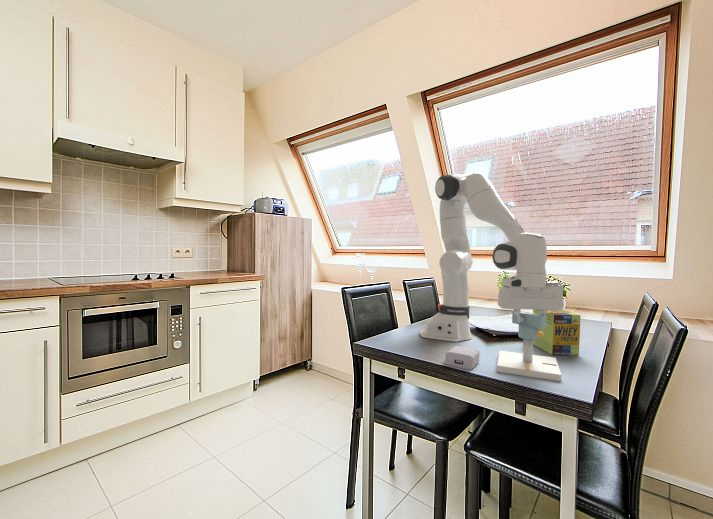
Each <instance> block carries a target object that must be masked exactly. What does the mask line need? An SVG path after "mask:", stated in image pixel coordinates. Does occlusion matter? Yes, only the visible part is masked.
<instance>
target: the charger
mask: <svg viewBox="0 0 713 519" xmlns="http://www.w3.org/2000/svg"><path fill="white" fill-rule="evenodd" d="M444 362H445V364H446V365H447V366H451V367H456V368H461V369H467V370H473V369H474V367H475V366H477V364H478V363H479V362H480V350H479V349H477V348H472V347H465V346H460V345H455V346H453V347H451V349H449V350H447V352H445V360H444Z"/></svg>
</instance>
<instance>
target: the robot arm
mask: <svg viewBox="0 0 713 519" xmlns="http://www.w3.org/2000/svg"><path fill="white" fill-rule="evenodd" d="M434 186H435V187H434V191H435V194H436V196H437V197H438V199H440V201H439V202H440V203H439V224H440V236H441V240H442V241H443V246H444V248H445V252H444V253H442V255H441V257H440V258H439V268H440V271H441V272H440V273H441V280H442V288H443V290H442V292H443V293H442V296H443V297H442V303H439V304H437V308H438V309H437V310H438V312H437V313H436V314H434V315H433V316H431V317H430V318H428V320H427V321H426V322H425V325H424V326H425V327H424V328H422V330H420V332H419V333H420V334H419V336H420V337H422V338H424V339H430V340H431V339H432V340H438V341H439V340H440V341H445V342H446V341H448V342H454V343H457V342H461V341H468V340H472V334H471V329H470V317H471V315H470V314H471V313H470V312H471V311H470V310H471V308H470V305H469V301H470V287H469V281H468V273H467V272H468V271H469V270H471V268H472V266H473V257H472V251H471V247H470V243H469V238H468V233H467V232H468V231H467V221H466V220H467V219H466V212H465V205H466V204H468V206H469V209H470V211H471V213H472V214H473V216H474V217H475V218H476V219H478V220H480V221H482V222H486V223H488V224H491V225H493V226H495V227H498V228H499V230H501V231H502V232H503V233H504V235H505V236H506V238H507V240H508V241H507V242H504V243H500V244H497V245H496V246H495V247H494V249H493V251H492V255H491V256H492V257H491V258H492V261H493V264H494V266H495V267H496V268H498V269H499V270H504V271H516V274H515V275H513V276H510V277H505V278H503V279H501V280H500V281H501V285H502V286H501V287H500V288H499V291H498V296H497V305H498V307H499V308H501V309H503V310H513V311H514V313H515V314H516V316H517V322H518V323H523V322H524V321H523V320H524V318H523V317H521V316H520V314H519V312H520V311H521V310H532V311H533V310H540V312H541V314H540V315H546V313H547V310H564V309H563V308H565V306H564V305H565V304H564V295H563V294H564V286H563V285H562V283H560V282H559V281H547V270H546V262H547V256H548V252H547V242H546V241H547V240H546V238H545V237H544V235H542V234H540V233H539V234H538V233H534V232H533V233H531V232H525V230H524V229H523V228H522V225H521V224H520V222H519V221H518V220H517V218H516V216H515V215H514V214H513V213H512V212H511V211H510V209H509V208H507V206H506V205H505V203H504V202H503V201H502V199H501V198H500V196H499V194H498V193H497V191H496V189H495V187H494V185H493V184H492V183H491V181H490V179H489V178H488V177H487V176H486V174H484V173H482V172H473V173H457V174H455V173H454V174H446V175H442V176H440V177H438V179H437V180H436V182H435V185H434Z"/></svg>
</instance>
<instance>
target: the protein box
mask: <svg viewBox="0 0 713 519" xmlns="http://www.w3.org/2000/svg"><path fill="white" fill-rule="evenodd" d="M532 313H534V314H541V312H540V310H533V309H532ZM539 331H541V332H544V336H538V339H533V346H535V347H536V348H539V349H541V350H543V351H544V352H546V353H548V354H549V355H552V356H580V337H581V336H580V335H581V314H579V313H575V312H572V311H568V310H565V309H562V310H547V313H546V328H543V329H539Z"/></svg>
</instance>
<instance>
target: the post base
mask: <svg viewBox="0 0 713 519" xmlns="http://www.w3.org/2000/svg"><path fill="white" fill-rule="evenodd" d="M496 372H497V373H498V372H499V373H503V374H509V375H510V374H511V375H518V376H524V377H531V378H537V379H542V380H543V379H544V380H550V381H556V382H557V381H558V382H562V373H561V369H560V367H559V364H558V362H557V358H556V357H553V356H545V355H538V354H534V345H533V339H524V338H522V352H513V351H505V350H499V353H498V360H497V365H496Z"/></svg>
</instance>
